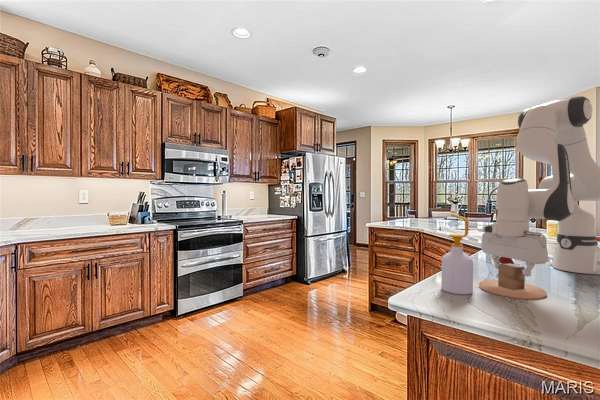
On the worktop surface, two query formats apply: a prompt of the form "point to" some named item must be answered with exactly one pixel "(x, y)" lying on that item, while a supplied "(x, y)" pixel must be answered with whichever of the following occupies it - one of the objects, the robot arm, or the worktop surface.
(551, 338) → the worktop surface
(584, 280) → the worktop surface
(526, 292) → the plate
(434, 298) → the worktop surface
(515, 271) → the block
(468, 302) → the worktop surface
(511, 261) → the onion
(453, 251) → the soap bottle
